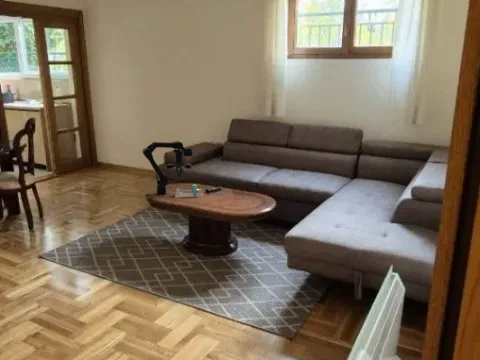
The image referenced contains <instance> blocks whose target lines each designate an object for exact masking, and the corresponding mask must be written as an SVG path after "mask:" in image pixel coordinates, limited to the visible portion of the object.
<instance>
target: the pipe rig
mask: <svg viewBox="0 0 480 360" xmlns="http://www.w3.org/2000/svg"><path fill="white" fill-rule="evenodd" d="M175 191H176V192H175V196H174V198H203V195H204V194H203V193H202V188H201V187H200V188H199V187H198V188H197V195H193V188H187V189H186V188H185V189H184V188H183V189H182V188H181V189H180V188H179V187H178V188H176V189H175Z"/></svg>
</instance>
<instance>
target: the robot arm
mask: <svg viewBox="0 0 480 360" xmlns="http://www.w3.org/2000/svg"><path fill="white" fill-rule="evenodd" d="M157 148H159V149H161V148H163V149H165V148H166V149H169V148H171V149H173V150H172V152H173V153H174V156H175V157H174V158H175V159H174V161H175V162H174V163H168V164H167V165H166V169H168V170H169V169H172V168H174V170H175V171H176V173H177V175H178V177H179V178H180V177H181V174H182V171H183V170H184V169H185V168H186V169H192V164H191V163H185V161H184V159H183V158H184V157H185V158H188V157H189V158H190V157H193V150H192V147H189V148H188V147H187V148H186V147H184V143H183V142H181V141H179V140H177V141H171V142H166V141H165V142H164V141H163V142H161V141H160V142H159V141H153V142H151V144H149V145H148V146H147V147H145V148H143V149H142V151H141V153H142V154H143V155H144V157H145V158H146V159H147V160H148V162H149V164H150V165H151V167H152V168H153V171H154V172H155V174H156V175H157V179H158V181H157V182H156V191H157V192H156V195H157V196H163V195H164V196H165V195H166V194H167V187H166V186H167V184H168V183H169V180H168V179H169V178H168V177H167V174H166V173H165V172H164V173H163V172H162V171H161V169H160V167H159V166H158V164H157V163H156V161H155V159H154V156H153V152H155V150H156V149H157ZM183 156H184V157H183Z"/></svg>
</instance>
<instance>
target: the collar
mask: <svg viewBox="0 0 480 360" xmlns="http://www.w3.org/2000/svg"><path fill="white" fill-rule="evenodd" d="M192 189H193V192H192V193H193V195H197V193H198V192H197V189H198V185H197V184H196V183H195V184H192Z"/></svg>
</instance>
